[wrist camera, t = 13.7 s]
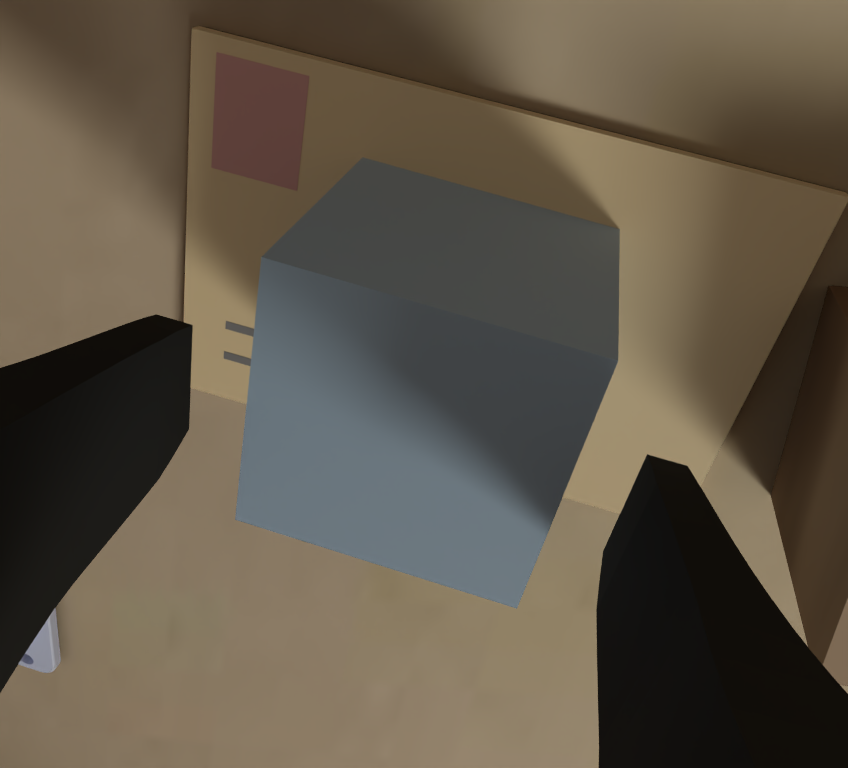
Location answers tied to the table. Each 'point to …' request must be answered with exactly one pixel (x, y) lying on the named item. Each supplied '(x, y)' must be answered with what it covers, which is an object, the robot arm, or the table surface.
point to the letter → (523, 181)
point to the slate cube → (427, 376)
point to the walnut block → (820, 490)
